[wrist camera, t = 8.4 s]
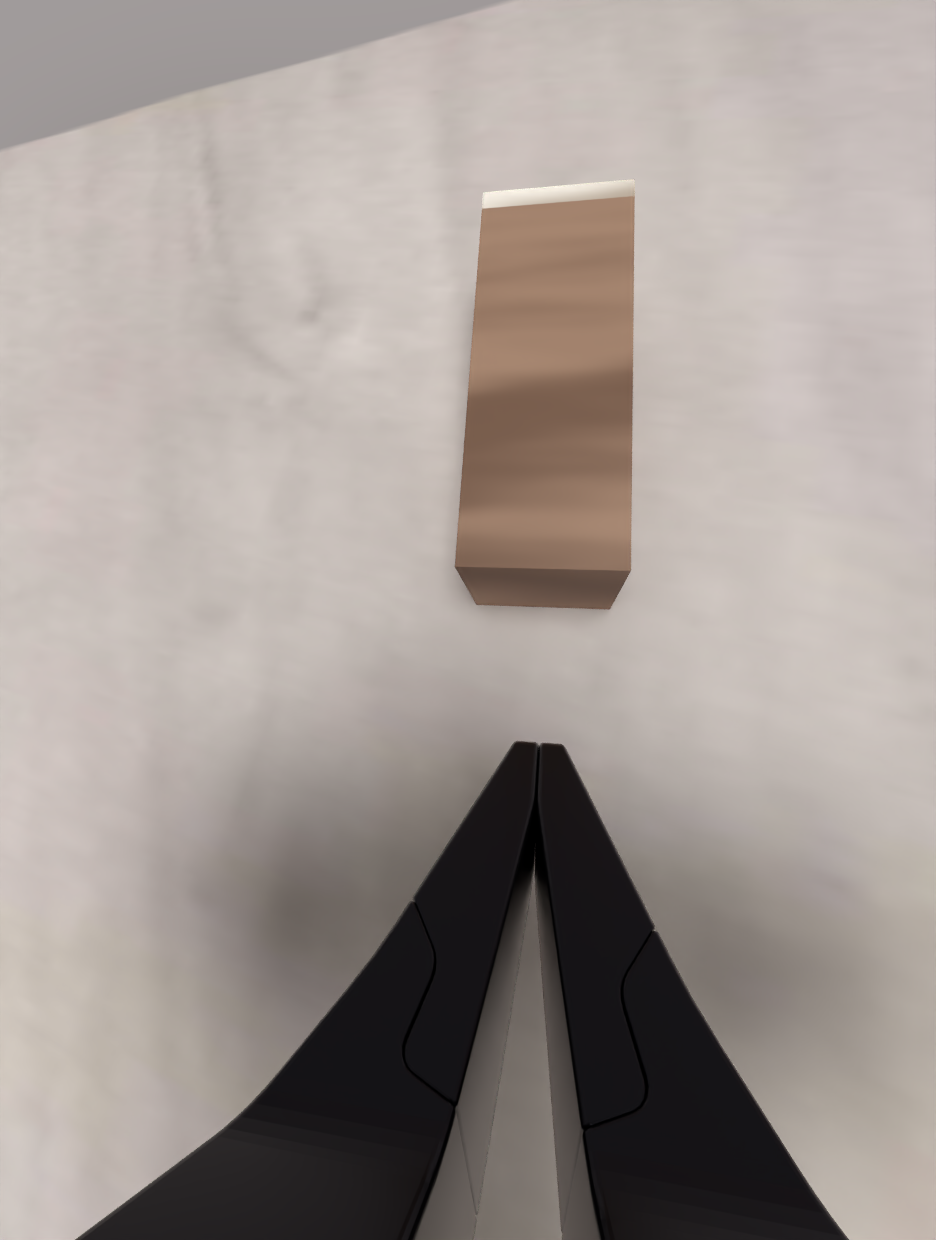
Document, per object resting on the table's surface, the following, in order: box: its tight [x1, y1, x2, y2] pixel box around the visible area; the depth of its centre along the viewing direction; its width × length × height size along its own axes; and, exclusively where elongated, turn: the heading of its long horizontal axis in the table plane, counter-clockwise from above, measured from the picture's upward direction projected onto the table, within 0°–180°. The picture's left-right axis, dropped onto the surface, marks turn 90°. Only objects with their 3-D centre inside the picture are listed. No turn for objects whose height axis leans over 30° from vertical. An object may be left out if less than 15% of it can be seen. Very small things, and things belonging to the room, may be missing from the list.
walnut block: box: [455, 179, 635, 609], centre depth 17 cm, size 4×4×12 cm
